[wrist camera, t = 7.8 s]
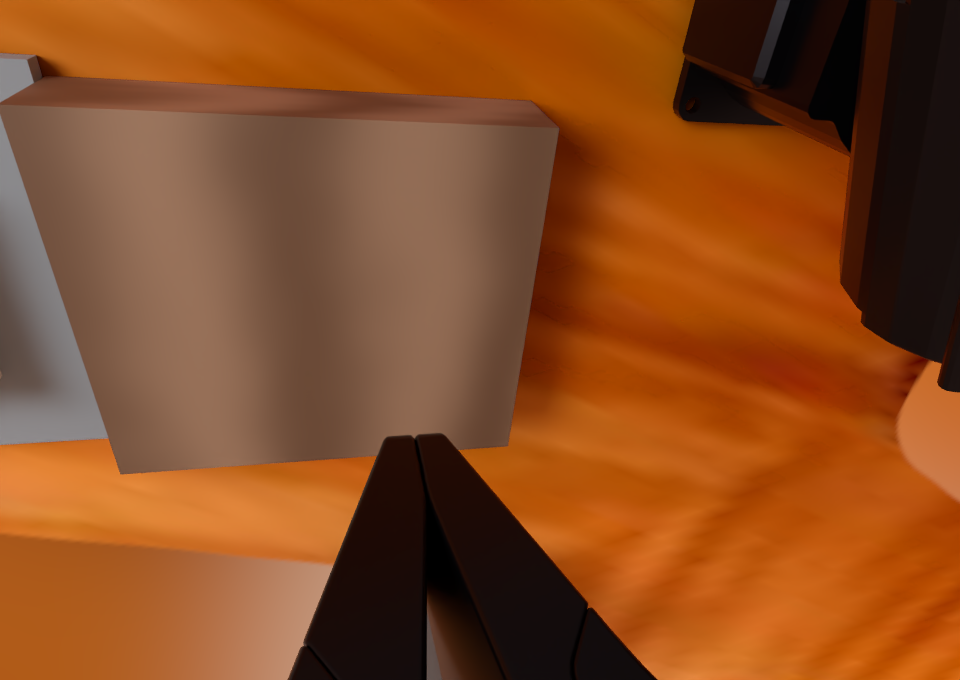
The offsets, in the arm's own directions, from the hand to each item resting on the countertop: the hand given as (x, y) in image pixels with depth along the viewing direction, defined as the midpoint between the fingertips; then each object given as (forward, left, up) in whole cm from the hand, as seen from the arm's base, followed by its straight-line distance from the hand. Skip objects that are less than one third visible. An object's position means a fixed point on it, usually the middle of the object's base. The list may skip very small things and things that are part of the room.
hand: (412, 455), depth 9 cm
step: (+2, +4, -13) cm, 14 cm away
